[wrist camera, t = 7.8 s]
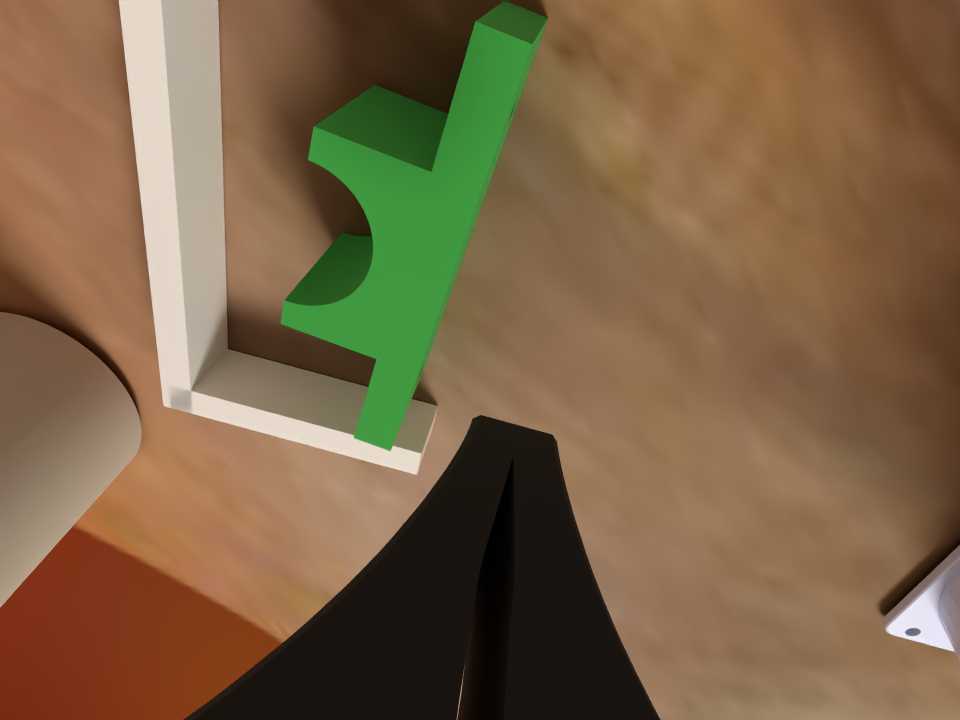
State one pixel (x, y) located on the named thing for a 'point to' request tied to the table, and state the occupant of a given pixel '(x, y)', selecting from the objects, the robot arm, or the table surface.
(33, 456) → the travel mug
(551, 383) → the table surface
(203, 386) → the white u-shaped frame
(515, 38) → the pipe clamp
